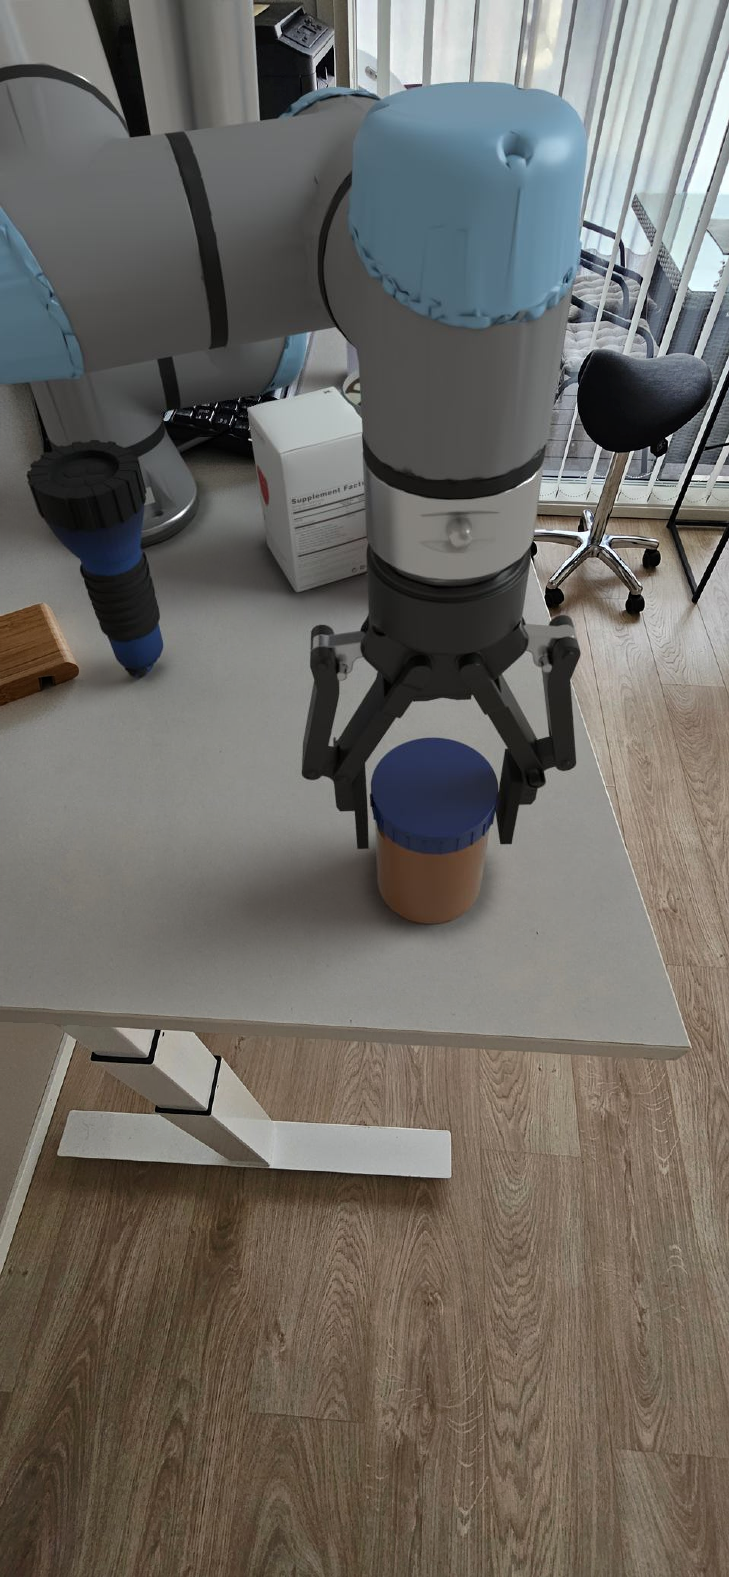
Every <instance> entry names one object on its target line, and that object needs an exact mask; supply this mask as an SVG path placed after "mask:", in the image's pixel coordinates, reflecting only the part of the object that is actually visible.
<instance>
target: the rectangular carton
mask: <svg viewBox="0 0 729 1577" xmlns="http://www.w3.org/2000/svg"><path fill="white" fill-rule="evenodd" d="M340 393H341V392H339V390H337V388H336V387H335V386H329V387H326V388H322V389H319V390H314V391H309V392H307V393H302V394H298V395H295V396H290V397H286V398H281V399H275V400H271V401H265V402H261V403H257V404H256V405H254V406H251V407H248V408H247V407H246V408H247V412H248V416H247V418H248V424H249V431H250V438H251V444H252V451H253V458H254V465H255V470H256V476H257V477H256V478H257V483H258V484H257V485H258V490H259V495H260V496H259V498H260V504H261V510H262V516H263V524H264V530H265V537H266V543H267V544H266V545H267V547H268V548H269V550H270V552H271V554H272V555H273V557H274V559H275V561H276V562H277V563H278V565H279V567H280V568H281V570H282V572H283V573H284V575H285V577H286V578H287V580H288V582H289V583H290V585H291V587H292V588H293V590H294V591H295V593H301V592H304V591H308V590H310V589H313V588H317V587H320V586H324V585H327V584H330V583H333V582H336V581H337V582H338V581H340V580H344V579H346V578H351V577H353V576H356V575H360V574H363V573H367V557H366V553H367V546H368V540H367V539H366V520H365V499H364V477H363V456H362V453H363V445H362V433H363V432H362V418H361V417H360V416H359V415H358V414H357V413H356V411H355V409H354V408H353V406H352V405H350V404H349V403H348V402H347V401H346V400H345V399H344V398H343V396H342V395H341V394H340Z"/></svg>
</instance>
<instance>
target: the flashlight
mask: <svg viewBox="0 0 729 1577" xmlns="http://www.w3.org/2000/svg"><path fill="white" fill-rule="evenodd" d="M29 466H30V470H27V472H26V478H27V484H28V487H29V490H30V493H31V496H32V498H33V500H34V503H35V506H36V509H37V512H38V513H39V516H40V517H41V518H42V519H43V520H44V522H45V523H46V524H47V526H48V528H49V529H50V531H51V532H52V533H53V534H54V536H55V537H56V538H57V539H58V541H59V542H60V543H61V545H63V546H64V547H65V548H66V549H67V550H68V551H69V553H71V554H72V555H73V556H75V557H76V558H77V559H78V560H79V561H80V565H79V572H80V575H81V578H83V582H84V586H85V589H86V590H87V595H88V598H89V600H90V602H91V606H92V609H93V611H94V614H95V617H96V619H97V620H98V624H99V628H100V630H101V632H102V633H103V635H105V636H107V638H108V641H109V645H110V646H111V649H112V652H113V654H114V657H115V659H116V661H117V662H118V663H119V664H120V665H121V666H123V667H124V670H125V671H126V672H127V674H128V675H129V676H131V677H132V678H133V679H141V678H143V677H145V676H147V675H148V674H149V673H150V671H151V670H152V669H153V667H154V664H155V663H157V661H158V659H160V657H161V655H162V652H163V650H164V640H163V636H162V632H161V628H160V624H159V623H160V620H161V612H160V606H159V604H158V599H157V596H156V591H155V590H156V589H155V585H154V580H153V578H152V576H151V568H150V565H149V560H148V557H147V554H146V553H145V551H143V552H142V547H140V544H141V536H142V524H143V516H144V504H145V502H146V495H145V494H146V493H147V492H146V488H145V484H144V480H143V476H142V472H141V468H140V464H139V460H138V457H137V456H136V457H135V454H134V451H132V450H131V449H130V448H129V449H125V448H123V447H121V446H119V445H117V444H116V443H115V442H112V441H108V442H107V443H106V442H100V441H99V440H91V441H90V442H83V443H82V442H81V441H78V442H72V444H71V445H68V446H63V445H62V446H58V447H55V450H53V449H52V451H50V452H47V451H45V452H43V453H41V454H40V458H39V459H38V460H34V461H32V462H31V464H30V465H29Z"/></svg>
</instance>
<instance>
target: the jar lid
mask: <svg viewBox="0 0 729 1577" xmlns="http://www.w3.org/2000/svg"><path fill="white" fill-rule="evenodd" d="M498 792H499V780H498V778H497V774H496V771H495V770H494V768H493V767H492V764H490V762H489V760H488V759H487V758H485V756H484V755H483V754H482V753H480V752H479V751H478V750H476V749H475V748H473V747H471V746H469V745H468V744H466V743H462V742H461V741H457V740H455V739H450V738H445V737H420V738H416V739H412V740H409V741H408V740H407V741H406V742H403V743H401V744H399V745H397V746H396V747H393V748H392V749H391V750H389V751H388V752H387V753H386V754H384V756H382V758H381V759H380V760H379V761H378V763H377V764H376V766H375V768H374V770H373V773H372V776H371V780H370V793H369V805H370V806H369V807H370V808H371V812H372V815H373V817H372V818H373V820H374V822H375V821H376V823H377V825H378V826H379V828H380V829H381V832H383V833H384V834H385V835H386V836H387V837H388V838H389V839H391V840H392V842H395V843H396V844H398V845H399V846H401V847H403V848H406V849H407V850H411V851H414V852H418V853H423V854H432V855H435V854H440V855H442V854H448V853H453V852H458V851H460V850H462V849H465V848H467V847H469V846H471V845H473V844H474V843H475V842H477V841H478V840H479V839H480V838H481V837H483V836H485V833H486V832H487V831H488V829H489V828H490V829H491V826H493V825H494V820H495V817H496V812H497V807H498V801H499V798H498ZM495 811H496V812H495Z"/></svg>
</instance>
